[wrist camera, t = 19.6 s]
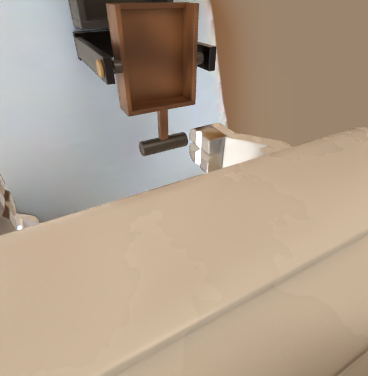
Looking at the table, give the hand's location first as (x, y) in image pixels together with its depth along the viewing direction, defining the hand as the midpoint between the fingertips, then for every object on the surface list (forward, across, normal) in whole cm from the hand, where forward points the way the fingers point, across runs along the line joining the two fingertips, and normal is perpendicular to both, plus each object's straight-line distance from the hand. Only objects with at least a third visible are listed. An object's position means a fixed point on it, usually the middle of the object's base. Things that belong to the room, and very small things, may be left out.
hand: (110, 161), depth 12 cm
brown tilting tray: (+20, -10, +3) cm, 22 cm away
